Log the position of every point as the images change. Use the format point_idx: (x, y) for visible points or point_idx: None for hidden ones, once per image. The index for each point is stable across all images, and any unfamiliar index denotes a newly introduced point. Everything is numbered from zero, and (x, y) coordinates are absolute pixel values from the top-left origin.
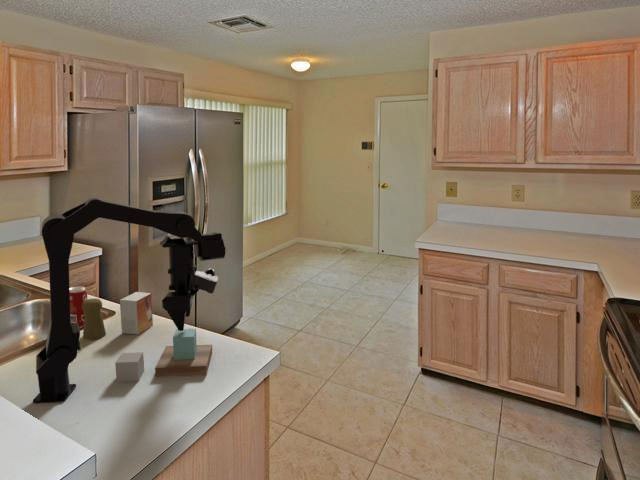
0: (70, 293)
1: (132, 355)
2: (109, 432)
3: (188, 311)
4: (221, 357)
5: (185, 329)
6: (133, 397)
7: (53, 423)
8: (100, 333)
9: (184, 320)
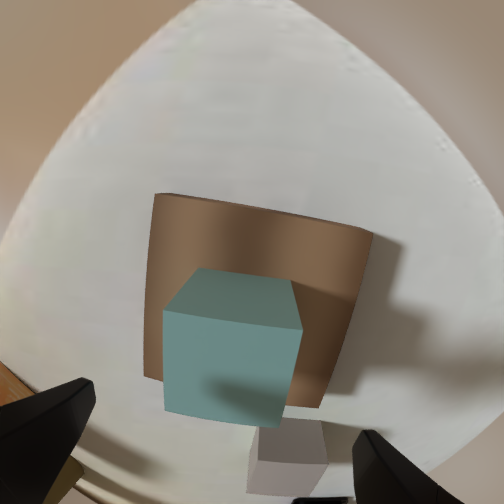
0: None
1: (274, 477)
2: (480, 413)
3: (72, 407)
4: (220, 155)
5: (170, 369)
6: (398, 415)
7: None
8: (67, 463)
9: (429, 478)
